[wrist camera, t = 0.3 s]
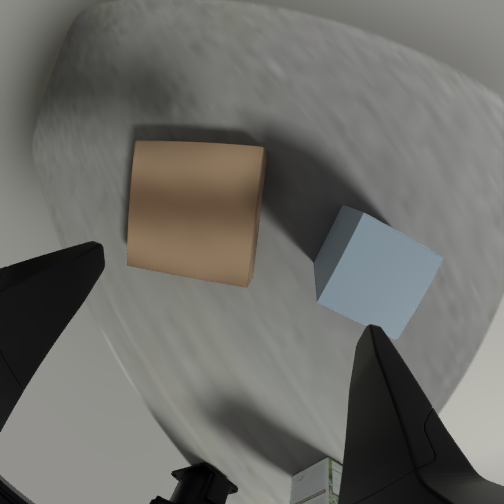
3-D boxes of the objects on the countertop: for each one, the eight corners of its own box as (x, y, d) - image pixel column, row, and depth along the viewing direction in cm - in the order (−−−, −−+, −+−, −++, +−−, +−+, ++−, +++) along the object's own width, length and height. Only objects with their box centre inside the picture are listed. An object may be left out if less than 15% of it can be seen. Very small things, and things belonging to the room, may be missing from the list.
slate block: (368, 289, 24) (396, 340, 15) (313, 262, 24) (316, 302, 15) (397, 234, 22) (443, 258, 14) (342, 204, 23) (364, 212, 14)
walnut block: (253, 276, 26) (246, 287, 23) (144, 257, 27) (126, 265, 24) (268, 152, 23) (263, 146, 21) (152, 145, 25) (135, 140, 22)
